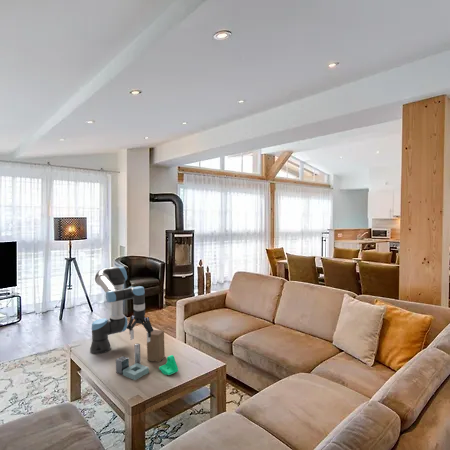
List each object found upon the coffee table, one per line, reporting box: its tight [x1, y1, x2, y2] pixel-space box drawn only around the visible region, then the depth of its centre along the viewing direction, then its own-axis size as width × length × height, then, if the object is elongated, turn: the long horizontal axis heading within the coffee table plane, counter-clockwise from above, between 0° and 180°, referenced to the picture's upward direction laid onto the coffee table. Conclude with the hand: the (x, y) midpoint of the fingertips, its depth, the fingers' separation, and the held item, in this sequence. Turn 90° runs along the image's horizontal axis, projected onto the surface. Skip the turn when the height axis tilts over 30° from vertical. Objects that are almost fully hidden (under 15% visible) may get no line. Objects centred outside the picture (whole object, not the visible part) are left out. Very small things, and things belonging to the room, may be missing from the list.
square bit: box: [115, 355, 130, 376], centre depth 220 cm, size 6×6×9 cm
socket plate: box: [122, 363, 150, 381], centre depth 217 cm, size 12×12×4 cm
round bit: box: [134, 343, 142, 365], centre depth 231 cm, size 4×4×14 cm
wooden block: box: [146, 329, 166, 363], centre depth 239 cm, size 10×10×20 cm
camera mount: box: [158, 354, 179, 376], centre depth 220 cm, size 12×8×10 cm, turn 45°
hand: (140, 340), depth 221 cm, fingers open, 13 cm apart
